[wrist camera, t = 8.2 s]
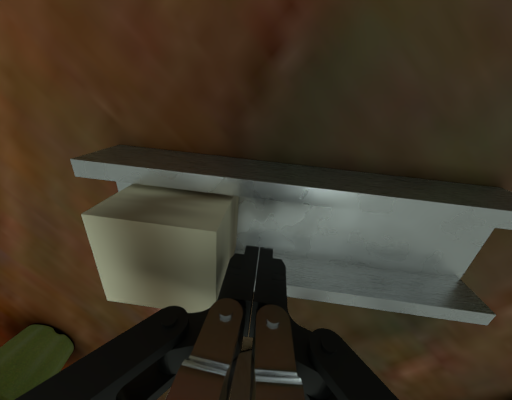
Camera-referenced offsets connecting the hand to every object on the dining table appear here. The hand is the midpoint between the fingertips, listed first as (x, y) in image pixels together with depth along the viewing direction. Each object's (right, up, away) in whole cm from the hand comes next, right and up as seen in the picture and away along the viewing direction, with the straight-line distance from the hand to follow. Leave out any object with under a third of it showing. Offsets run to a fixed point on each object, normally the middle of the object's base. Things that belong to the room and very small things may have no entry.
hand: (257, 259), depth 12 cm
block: (-4, +2, +4) cm, 6 cm away
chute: (+3, +2, +4) cm, 6 cm away
